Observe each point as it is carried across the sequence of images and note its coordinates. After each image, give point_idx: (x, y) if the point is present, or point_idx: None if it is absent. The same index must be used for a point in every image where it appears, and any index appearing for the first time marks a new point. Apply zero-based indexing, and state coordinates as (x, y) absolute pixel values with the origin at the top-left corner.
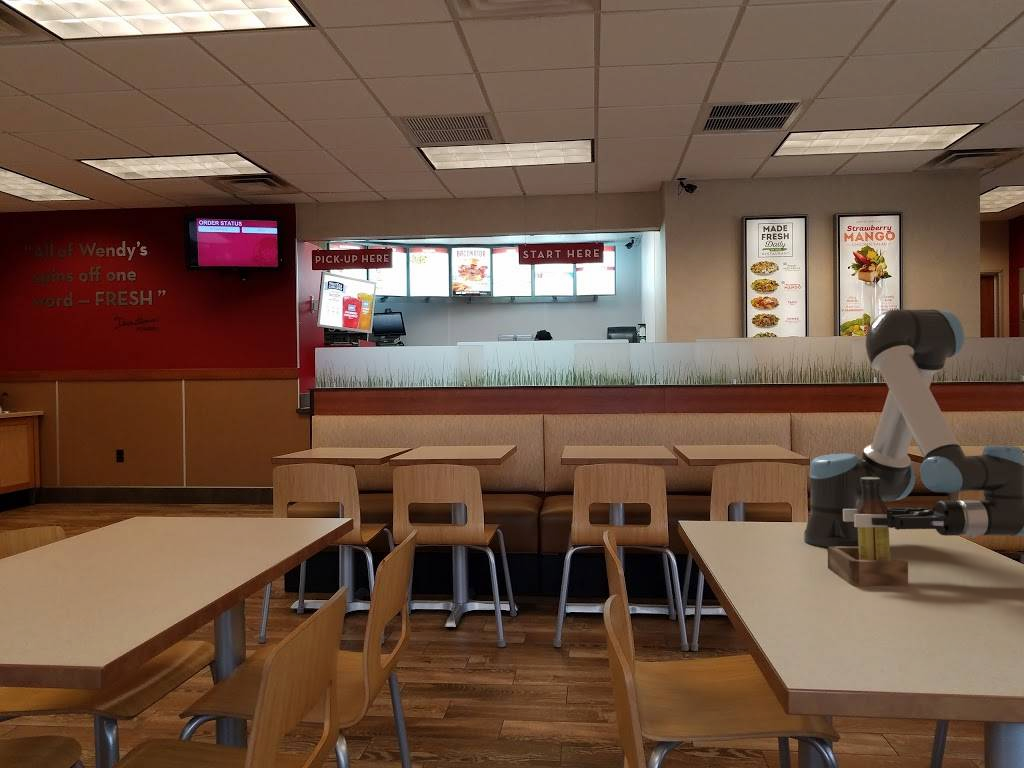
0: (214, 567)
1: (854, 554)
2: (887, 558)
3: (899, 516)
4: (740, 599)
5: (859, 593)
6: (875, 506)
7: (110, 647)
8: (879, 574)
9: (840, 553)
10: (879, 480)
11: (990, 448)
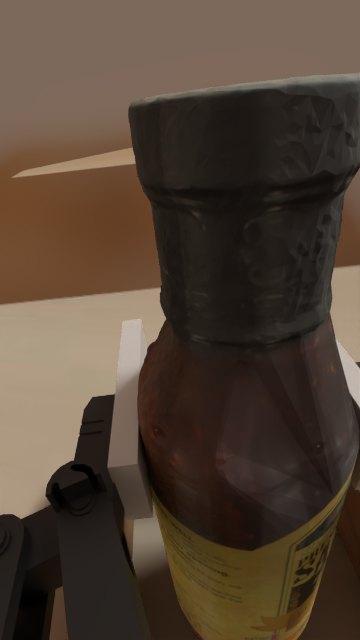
0: None
1: (351, 504)
2: (186, 614)
3: (67, 595)
4: (43, 306)
5: (27, 477)
6: (145, 364)
7: (34, 173)
8: None
9: None
10: (162, 129)
11: None
